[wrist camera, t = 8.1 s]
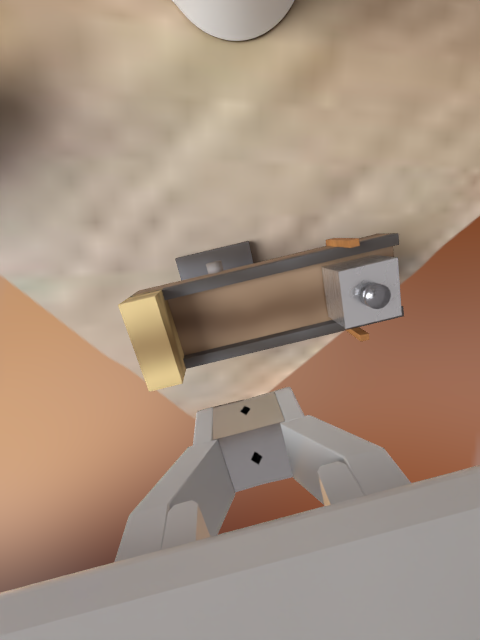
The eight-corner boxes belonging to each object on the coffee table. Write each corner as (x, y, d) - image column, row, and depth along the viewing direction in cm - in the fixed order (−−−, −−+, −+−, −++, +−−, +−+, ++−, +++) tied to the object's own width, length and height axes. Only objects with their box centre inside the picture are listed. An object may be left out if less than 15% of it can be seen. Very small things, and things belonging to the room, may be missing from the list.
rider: (321, 266, 27) (344, 273, 22) (372, 254, 27) (407, 258, 23) (328, 316, 29) (351, 333, 24) (377, 304, 29) (410, 319, 24)
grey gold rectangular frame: (149, 264, 36) (109, 280, 23) (344, 218, 36) (419, 207, 23) (176, 351, 39) (156, 410, 26) (355, 308, 40) (425, 345, 26)
